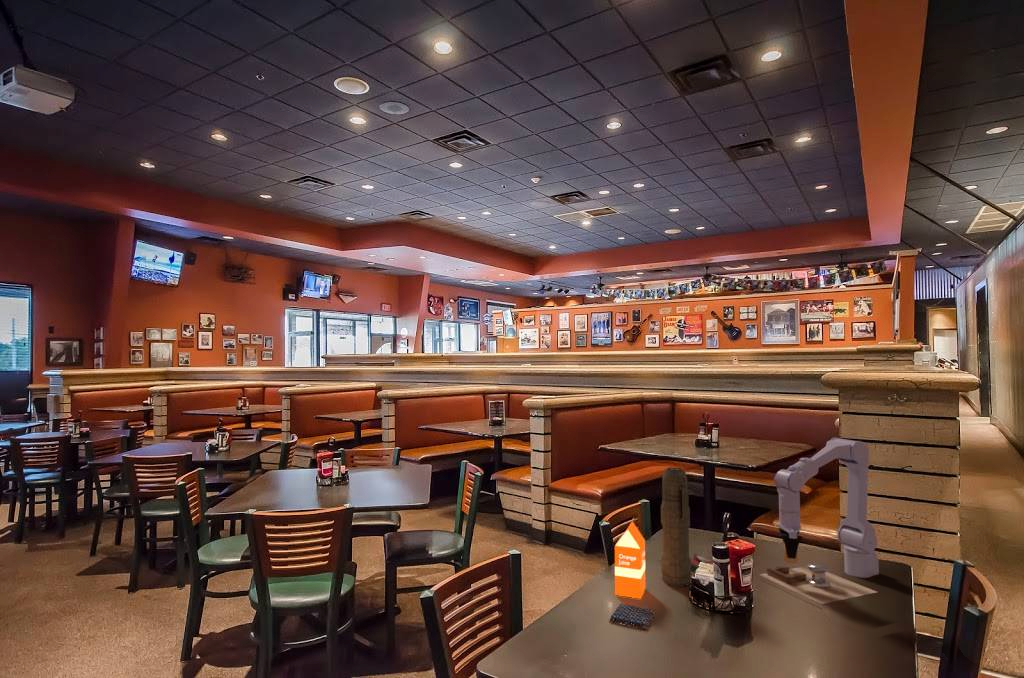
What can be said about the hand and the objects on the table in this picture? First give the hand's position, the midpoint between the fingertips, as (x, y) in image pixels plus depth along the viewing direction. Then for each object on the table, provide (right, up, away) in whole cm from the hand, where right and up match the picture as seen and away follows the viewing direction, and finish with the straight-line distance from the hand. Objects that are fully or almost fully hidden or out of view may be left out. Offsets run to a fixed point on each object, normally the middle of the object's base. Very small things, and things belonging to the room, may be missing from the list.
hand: (790, 555), depth 171 cm
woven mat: (-52, -10, -19) cm, 56 cm away
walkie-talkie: (-21, -11, +17) cm, 29 cm away
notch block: (+1, -9, +5) cm, 10 cm away
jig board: (+8, -10, +1) cm, 13 cm away
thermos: (-33, -11, +7) cm, 35 cm away
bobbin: (+8, -9, 0) cm, 12 cm away
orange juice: (-49, -11, -2) cm, 50 cm away
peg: (0, -2, 0) cm, 2 cm away
